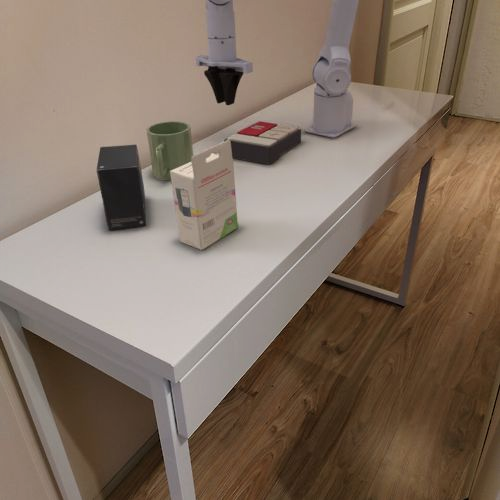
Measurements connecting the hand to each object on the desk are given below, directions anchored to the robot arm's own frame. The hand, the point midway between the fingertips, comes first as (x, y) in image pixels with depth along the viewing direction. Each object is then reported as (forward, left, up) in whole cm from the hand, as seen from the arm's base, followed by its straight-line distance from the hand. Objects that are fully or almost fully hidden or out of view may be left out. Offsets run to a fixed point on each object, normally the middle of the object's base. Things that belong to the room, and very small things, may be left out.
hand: (225, 103), depth 110 cm
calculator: (0, +11, -9) cm, 14 cm away
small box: (+37, +11, -9) cm, 39 cm away
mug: (+21, +4, -8) cm, 23 cm away
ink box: (+34, +27, -9) cm, 44 cm away
